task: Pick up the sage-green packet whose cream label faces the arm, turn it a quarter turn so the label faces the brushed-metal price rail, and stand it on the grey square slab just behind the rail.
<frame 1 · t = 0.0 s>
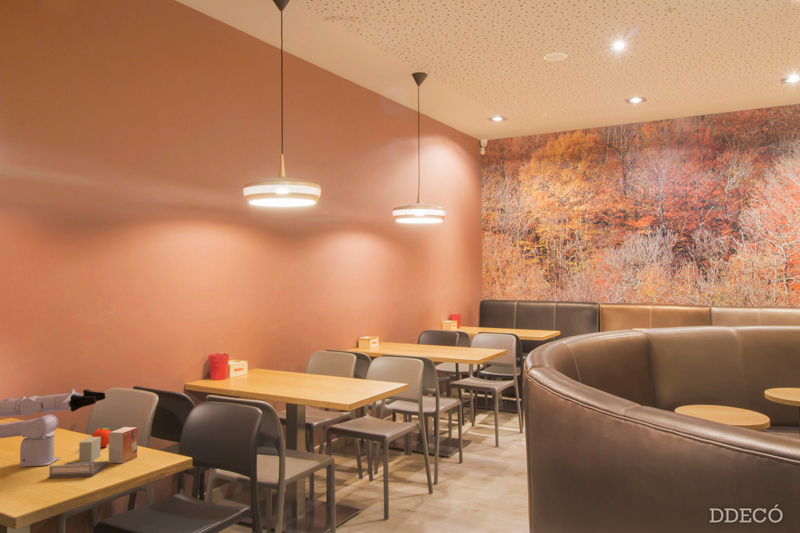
hand: (100, 397, 195), 22 cm above the table, tool horizontal, fingers open, 7 cm apart
grey square slab: (79, 471, 183), on the table
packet: (89, 459, 196), on the table
small box: (123, 460, 195), on the table
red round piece: (103, 447, 211), on the table
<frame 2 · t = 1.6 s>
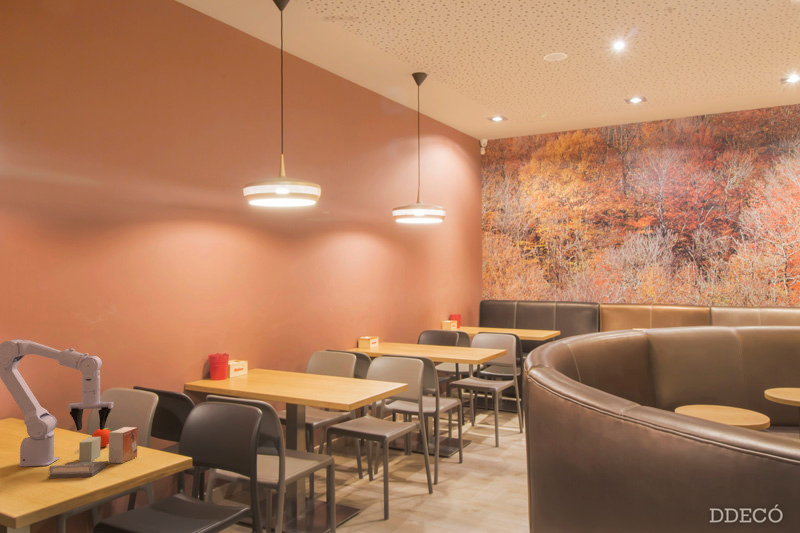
hand: (90, 429, 196), 10 cm above the table, tool pointing down, fingers open, 7 cm apart
nothing on the table moved.
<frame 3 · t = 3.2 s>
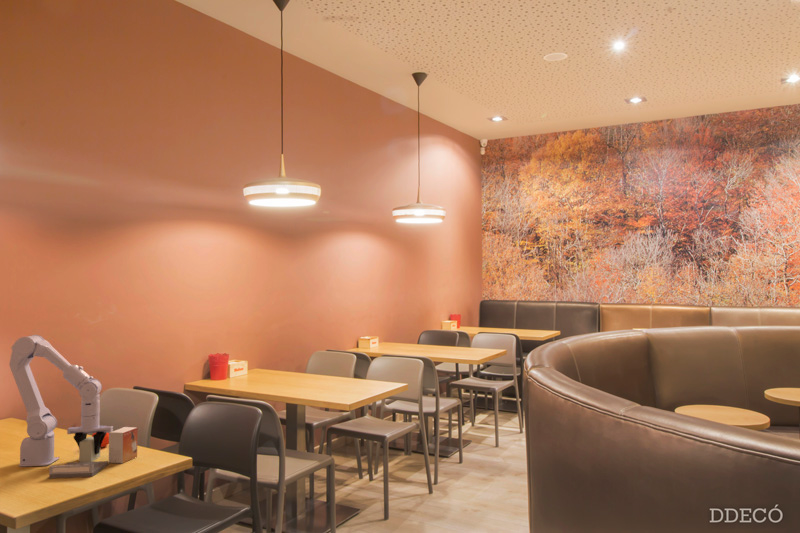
hand: (90, 453, 196), 2 cm above the table, tool pointing down, fingers closed on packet, 4 cm apart
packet: (90, 459, 196), on the table, touching gripper
everything else where it was.
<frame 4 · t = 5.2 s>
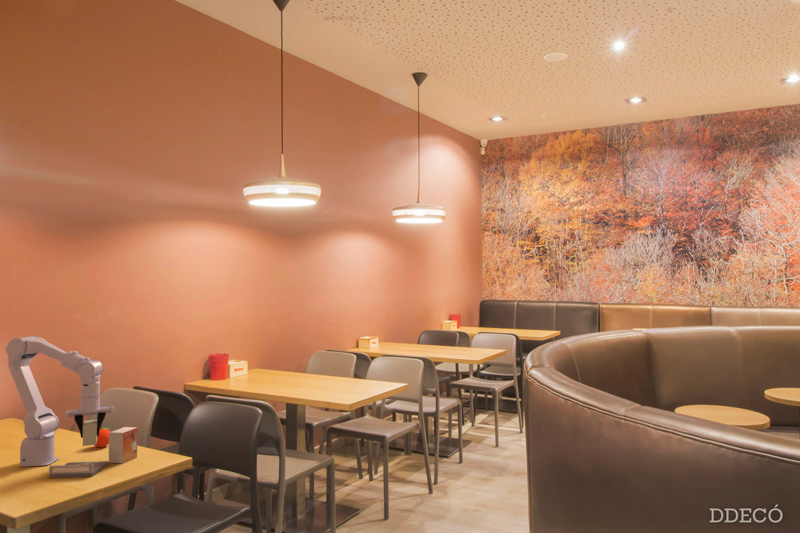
hand: (90, 436, 191), 9 cm above the table, tool pointing down, fingers closed on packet, 4 cm apart
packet: (90, 442, 191), point 7 cm above the table, touching gripper
everything else where it was.
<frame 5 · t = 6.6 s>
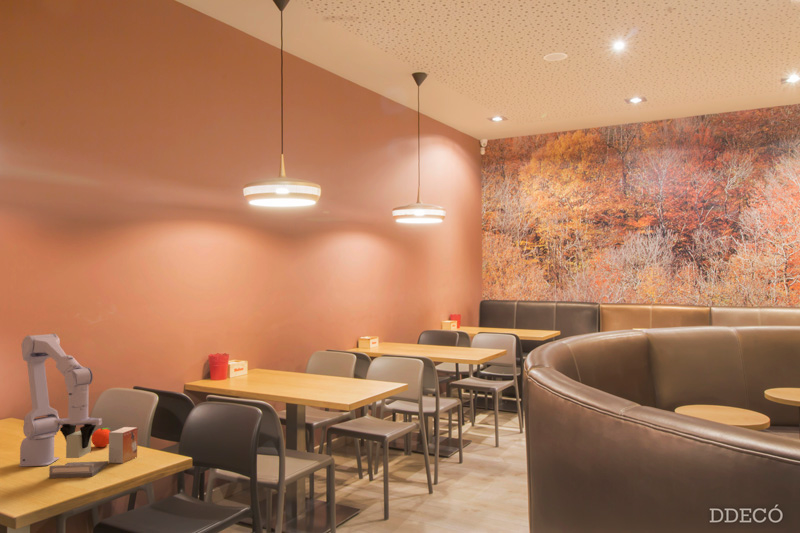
hand: (77, 447, 182), 8 cm above the table, tool pointing down, fingers closed on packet, 4 cm apart
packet: (78, 454, 182), point 6 cm above the table, touching gripper
everything else where it was.
when the fingers open (5 cm above the table, at t = 7.7 s): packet stays where it is, resting on grey square slab.
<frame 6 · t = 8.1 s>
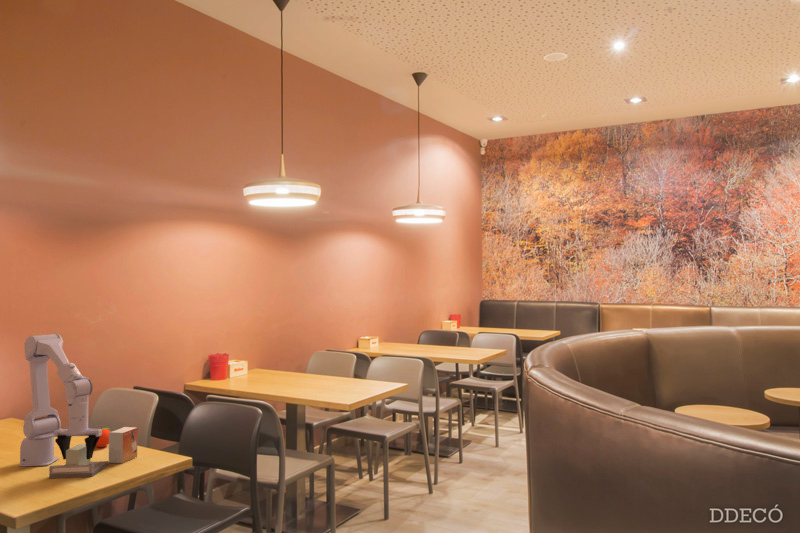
hand: (77, 458, 182), 5 cm above the table, tool pointing down, fingers open, 7 cm apart
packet: (78, 468, 182), point 1 cm above the table, touching grey square slab
everything else where it was.
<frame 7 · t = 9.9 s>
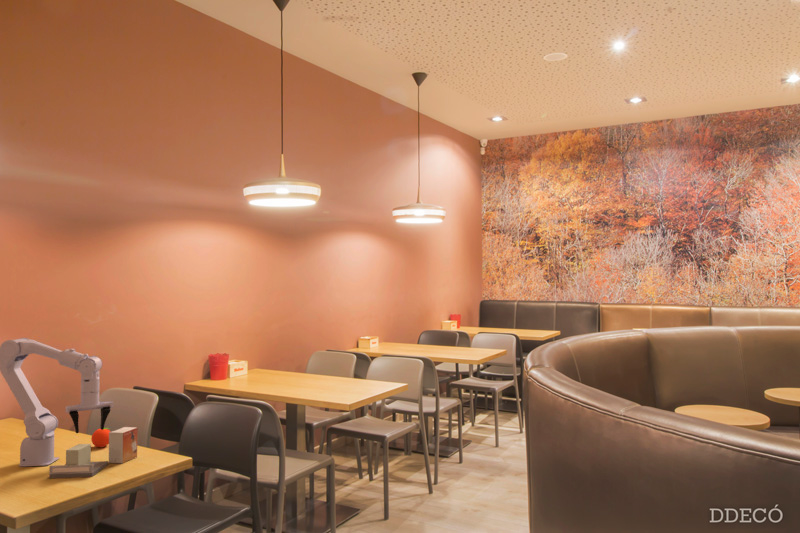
hand: (89, 430, 194), 10 cm above the table, tool pointing down, fingers open, 7 cm apart
nothing on the table moved.
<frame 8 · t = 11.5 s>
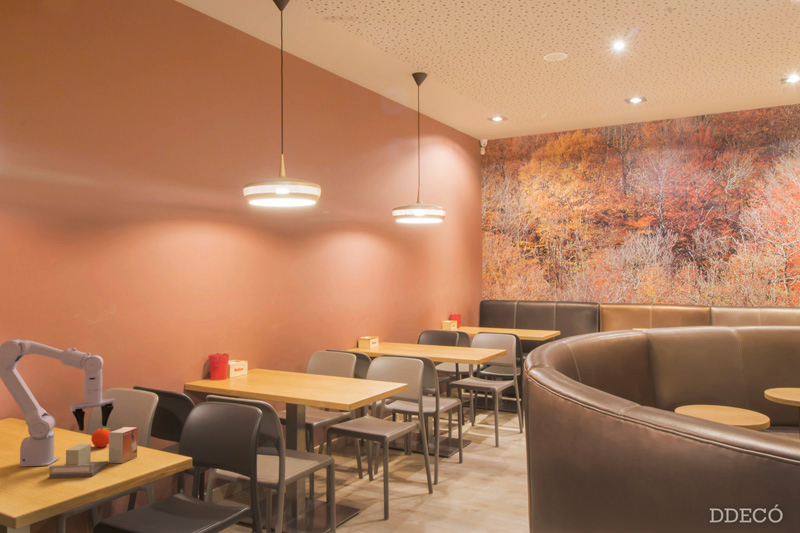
hand: (93, 428, 198), 10 cm above the table, tool pointing down, fingers open, 7 cm apart
nothing on the table moved.
at the end: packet inside the target area on the grey square slab (0.3 cm from its centre), point 1.2 cm above the grey square slab's base; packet tilted 0°; the gripper is holding nothing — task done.
